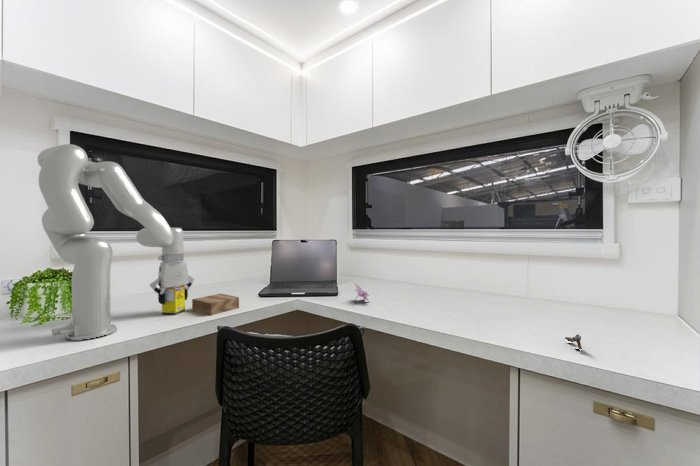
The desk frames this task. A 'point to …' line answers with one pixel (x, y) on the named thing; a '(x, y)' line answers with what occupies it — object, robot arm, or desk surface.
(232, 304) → the walnut block
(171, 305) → the supplement box
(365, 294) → the lily
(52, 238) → the robot arm
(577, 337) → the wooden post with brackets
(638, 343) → the desk surface
